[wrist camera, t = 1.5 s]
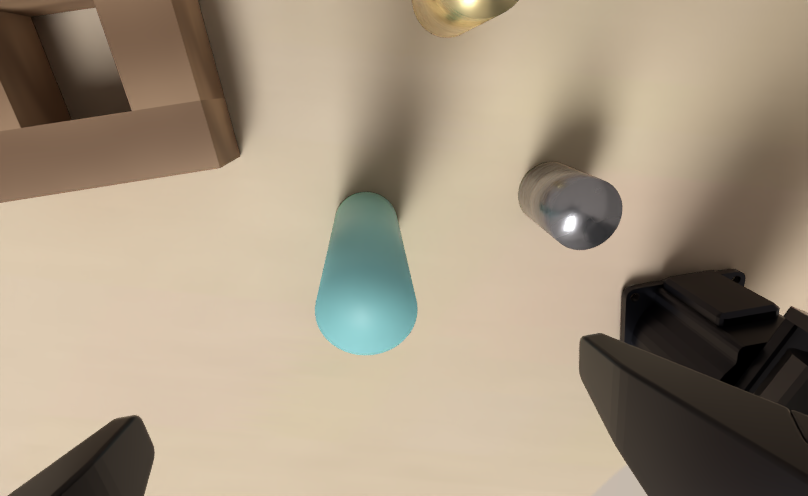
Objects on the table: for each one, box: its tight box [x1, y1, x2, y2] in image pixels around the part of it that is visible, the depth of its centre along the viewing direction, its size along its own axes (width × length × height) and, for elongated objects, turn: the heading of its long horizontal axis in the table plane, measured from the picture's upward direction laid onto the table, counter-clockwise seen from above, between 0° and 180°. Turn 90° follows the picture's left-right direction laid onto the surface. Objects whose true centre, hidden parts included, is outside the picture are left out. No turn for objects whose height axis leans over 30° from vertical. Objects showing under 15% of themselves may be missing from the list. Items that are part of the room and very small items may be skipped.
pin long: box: [315, 192, 417, 355], centre depth 17 cm, size 3×3×9 cm
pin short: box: [518, 162, 622, 250], centre depth 20 cm, size 3×3×4 cm
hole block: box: [0, 0, 240, 203], centre depth 17 cm, size 9×9×3 cm
